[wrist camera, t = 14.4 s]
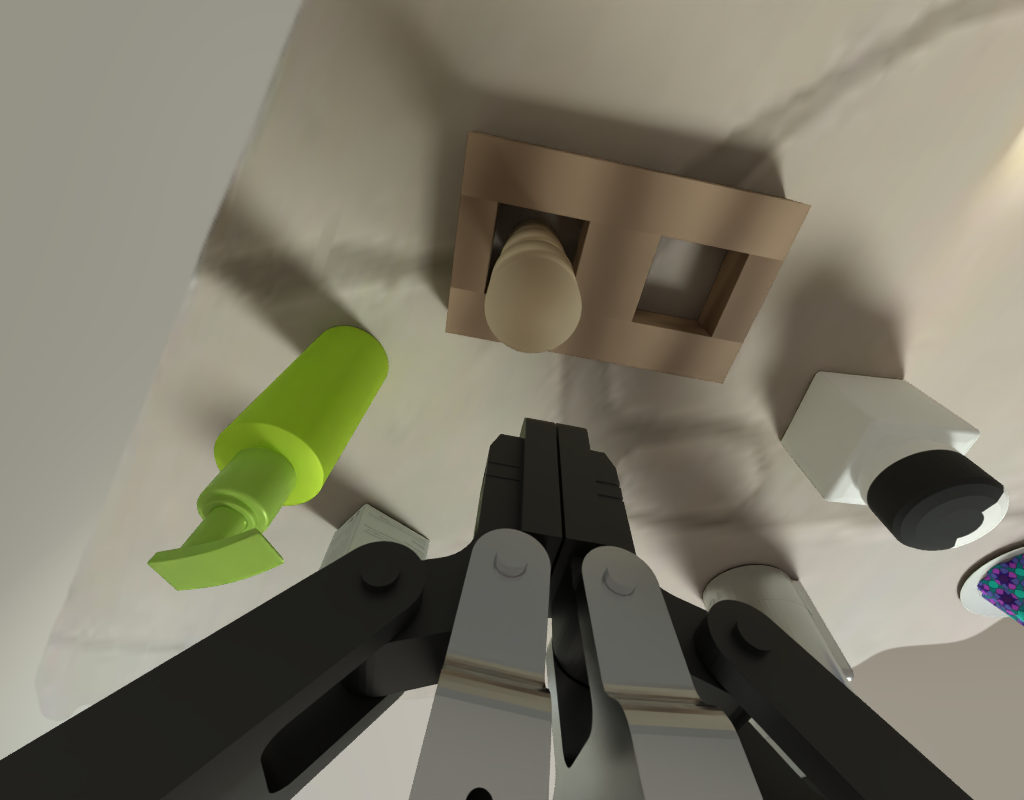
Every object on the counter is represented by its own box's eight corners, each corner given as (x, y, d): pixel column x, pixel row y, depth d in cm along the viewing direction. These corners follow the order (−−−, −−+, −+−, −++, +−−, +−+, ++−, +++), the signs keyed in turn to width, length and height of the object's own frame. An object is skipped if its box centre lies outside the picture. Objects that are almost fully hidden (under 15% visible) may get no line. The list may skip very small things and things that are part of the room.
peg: (572, 220, 29) (593, 270, 19) (556, 285, 32) (568, 360, 22) (506, 207, 29) (492, 250, 19) (495, 273, 31) (478, 343, 21)
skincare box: (336, 529, 46) (261, 682, 33) (368, 498, 43) (301, 651, 31) (402, 567, 49) (357, 722, 36) (436, 540, 46) (400, 697, 34)
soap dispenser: (412, 378, 36) (305, 602, 19) (338, 399, 38) (176, 626, 20) (379, 312, 33) (218, 506, 16) (300, 337, 35) (75, 542, 18)
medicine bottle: (777, 442, 38) (867, 558, 28) (815, 369, 34) (935, 472, 24) (860, 451, 38) (979, 569, 28) (906, 378, 35) (1063, 485, 24)
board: (786, 198, 28) (813, 206, 26) (708, 364, 34) (723, 384, 32) (474, 131, 27) (467, 131, 24) (452, 316, 33) (444, 333, 31)
